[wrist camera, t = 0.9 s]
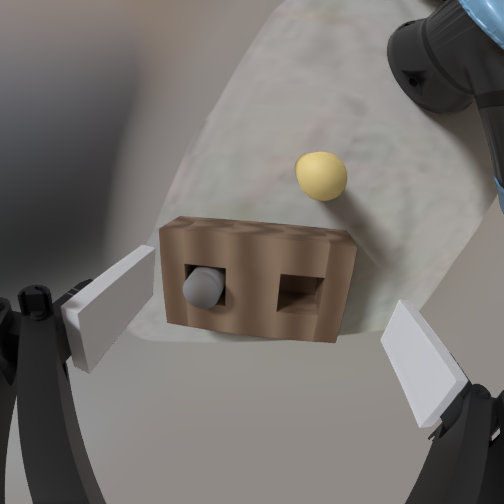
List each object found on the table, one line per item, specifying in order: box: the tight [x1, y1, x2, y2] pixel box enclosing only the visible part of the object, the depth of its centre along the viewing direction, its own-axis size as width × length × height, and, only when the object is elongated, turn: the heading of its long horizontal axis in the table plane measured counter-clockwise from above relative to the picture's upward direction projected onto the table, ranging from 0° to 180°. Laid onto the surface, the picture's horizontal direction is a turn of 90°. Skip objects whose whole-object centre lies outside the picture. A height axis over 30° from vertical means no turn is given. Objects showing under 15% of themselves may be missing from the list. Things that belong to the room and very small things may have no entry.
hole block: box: [159, 216, 357, 343], centre depth 36 cm, size 24×14×9 cm, turn 86°
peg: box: [295, 152, 347, 201], centre depth 28 cm, size 4×4×15 cm
